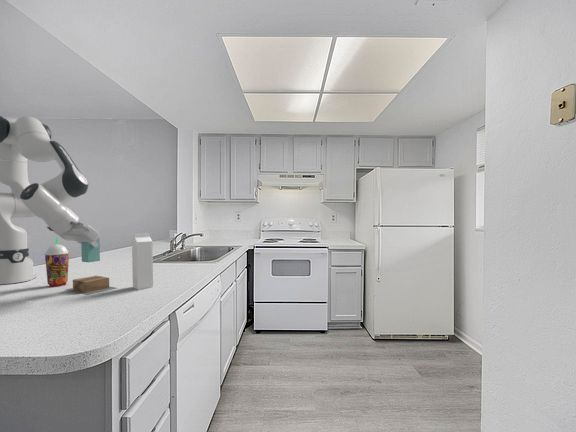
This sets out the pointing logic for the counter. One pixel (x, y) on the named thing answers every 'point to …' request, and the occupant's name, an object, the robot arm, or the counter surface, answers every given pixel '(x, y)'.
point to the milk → (142, 261)
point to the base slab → (90, 284)
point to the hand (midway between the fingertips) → (92, 246)
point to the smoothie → (57, 265)
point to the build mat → (92, 291)
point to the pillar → (90, 252)
